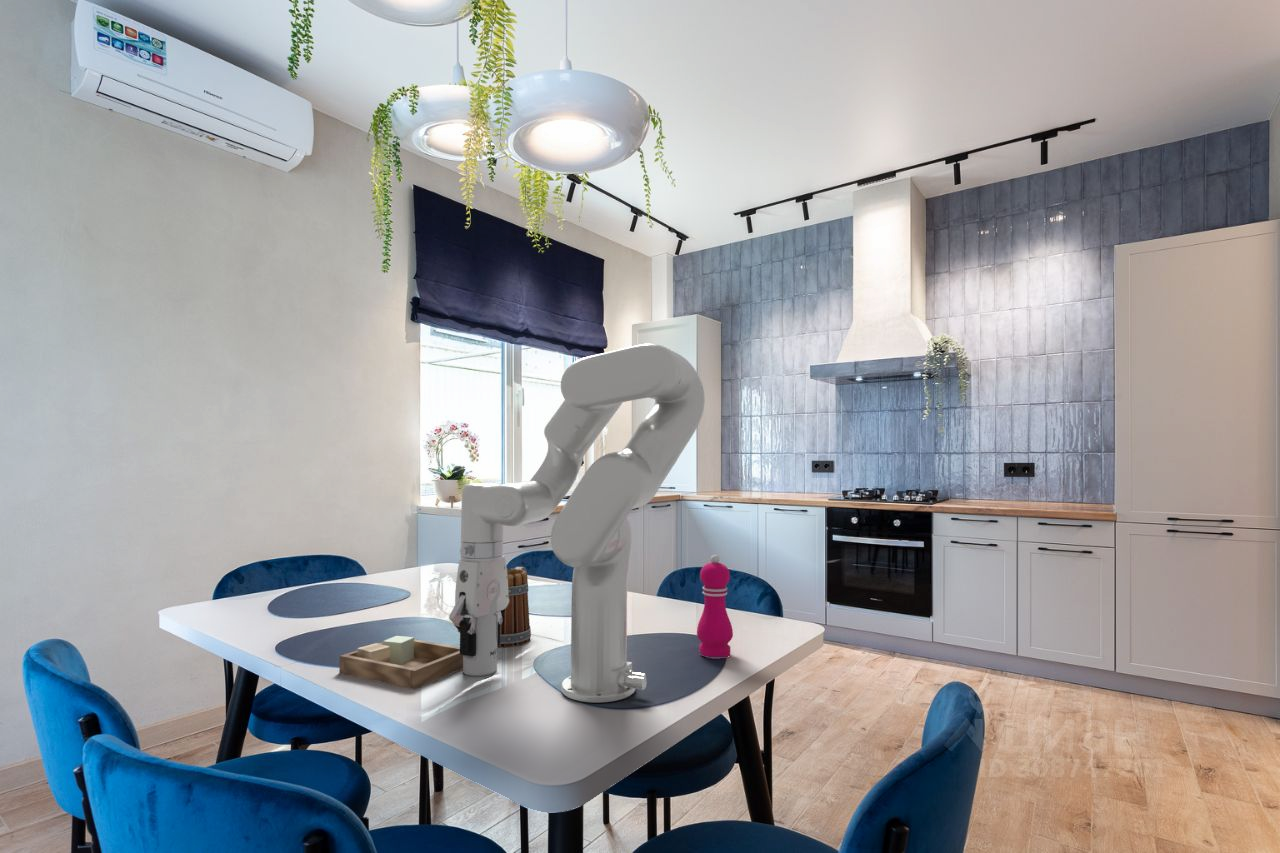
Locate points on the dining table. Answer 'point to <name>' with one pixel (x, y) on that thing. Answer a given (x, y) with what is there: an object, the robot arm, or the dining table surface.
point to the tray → (407, 665)
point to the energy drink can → (484, 645)
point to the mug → (516, 610)
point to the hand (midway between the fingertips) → (480, 649)
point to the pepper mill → (714, 611)
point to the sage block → (400, 649)
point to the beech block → (375, 652)
